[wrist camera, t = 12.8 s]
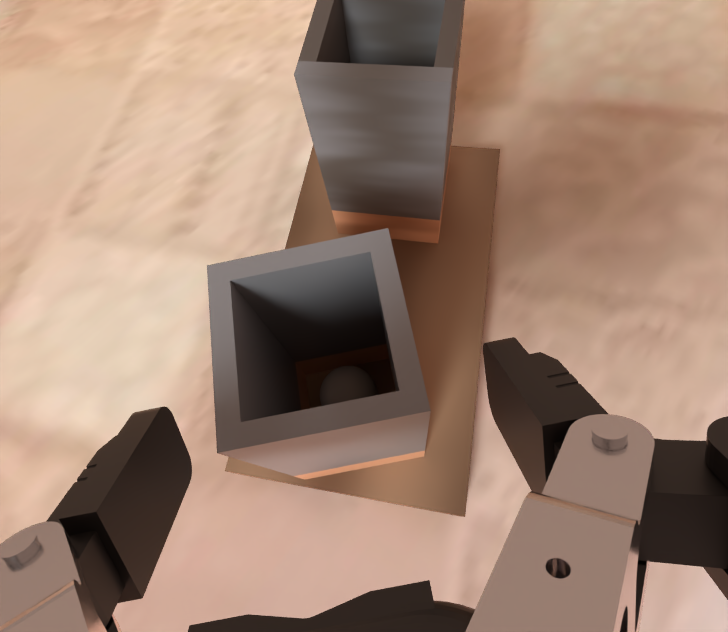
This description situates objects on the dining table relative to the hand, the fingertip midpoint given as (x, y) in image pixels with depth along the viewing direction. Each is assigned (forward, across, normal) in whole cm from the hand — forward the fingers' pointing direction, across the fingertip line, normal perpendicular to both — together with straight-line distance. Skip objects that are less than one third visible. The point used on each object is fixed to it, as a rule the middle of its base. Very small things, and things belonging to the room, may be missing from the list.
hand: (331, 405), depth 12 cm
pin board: (+12, -2, +3) cm, 13 cm away
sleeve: (+7, 0, +5) cm, 9 cm away
